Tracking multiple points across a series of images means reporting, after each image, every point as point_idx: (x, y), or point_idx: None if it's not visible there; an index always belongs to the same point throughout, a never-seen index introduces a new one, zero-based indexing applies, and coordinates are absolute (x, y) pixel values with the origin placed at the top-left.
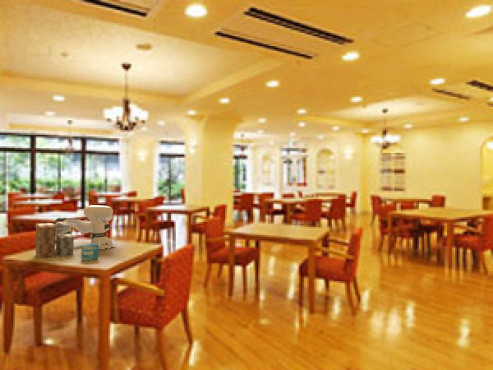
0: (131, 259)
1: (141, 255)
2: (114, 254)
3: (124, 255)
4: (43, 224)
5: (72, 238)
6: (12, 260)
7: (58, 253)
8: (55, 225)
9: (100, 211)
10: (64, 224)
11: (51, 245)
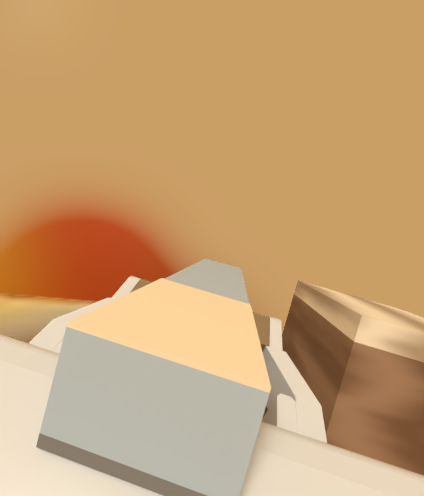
0: (83, 300)
1: (14, 294)
2: (18, 336)
3: (30, 316)
4: (412, 318)
5: None
6: None
7: None
8: (297, 285)
9: None
10: (230, 267)
11: None
